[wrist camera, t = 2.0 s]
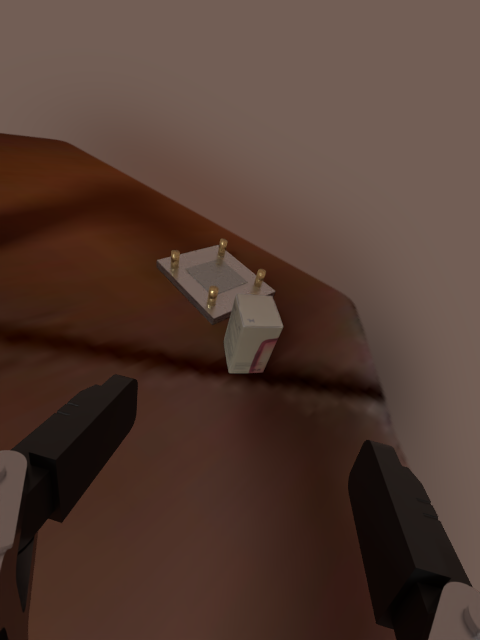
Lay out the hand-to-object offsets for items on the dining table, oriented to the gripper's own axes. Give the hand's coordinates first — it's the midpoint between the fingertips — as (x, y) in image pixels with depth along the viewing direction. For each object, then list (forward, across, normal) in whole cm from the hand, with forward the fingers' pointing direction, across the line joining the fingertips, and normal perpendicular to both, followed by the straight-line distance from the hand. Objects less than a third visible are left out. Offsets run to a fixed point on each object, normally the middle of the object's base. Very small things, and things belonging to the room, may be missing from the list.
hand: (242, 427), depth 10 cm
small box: (+22, +2, +10) cm, 24 cm away
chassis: (+34, +9, +4) cm, 35 cm away
